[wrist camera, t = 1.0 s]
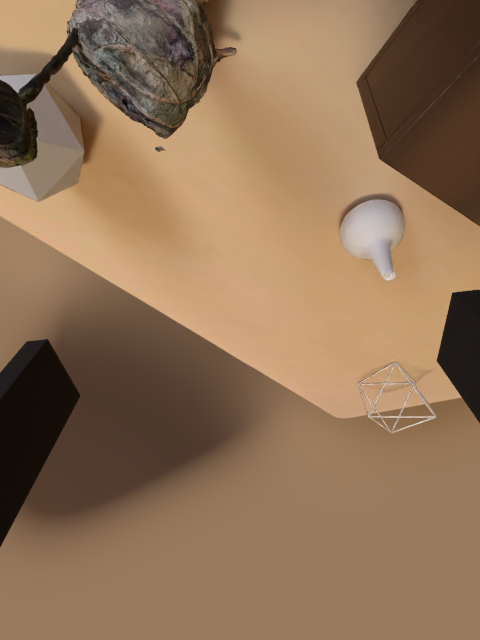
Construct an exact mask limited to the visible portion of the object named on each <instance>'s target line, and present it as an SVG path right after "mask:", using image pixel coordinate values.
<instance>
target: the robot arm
mask: <svg viewBox="0 0 480 640" xmlns="http://www.w3.org/2000/svg"><path fill="white" fill-rule="evenodd" d="M437 362H438V363H439V365H440V366H441V368H442V369H443V371H444V372H445V373H446V375H447V376H448V378H449V379H450V381H451V382H452V384H453V385H454V386H455V388H456V389H457V391H458V392H459V394H460V395H461V397H462V398H463V399H464V401H465V402H466V404H467V405H468V407H469V408H470V410H471V411H472V412H473V414H474V415H475V417H476V418H477V420H478V421H479V423H480V290H472V291H463V292H454V293H452V297H451V301H450V305H449V310H448V314H447V319H446V323H445V327H444V332H443V336H442V340H441V345H440V349H439V354H438V358H437ZM79 398H80V394H79V392H78V391H77V389H76V387H75V386H74V384H73V382H72V380H71V379H70V377H69V375H68V373H67V372H66V370H65V368H64V366H63V365H62V363H61V361H60V360H59V358H58V356H57V354H56V353H55V351H54V349H53V347H52V346H51V344H50V342H49V341H48V339H45V340H37V341H28V342H26V343H25V344H24V345H23V347H22V348H21V349H20V350H19V351H18V352H17V354H16V355H15V356H14V357H13V358H12V359H11V361H10V362H9V363H8V364H7V365H6V367H5V368H4V369H3V370H2V371H1V372H0V547H1V545H2V543H3V541H4V539H5V537H6V535H7V533H8V531H9V530H10V528H11V526H12V524H13V522H14V520H15V518H16V516H17V514H18V513H19V511H20V509H21V507H22V505H23V503H24V501H25V499H26V497H27V496H28V494H29V492H30V490H31V488H32V486H33V484H34V482H35V481H36V479H37V477H38V475H39V473H40V471H41V469H42V467H43V465H44V463H45V462H46V460H47V458H48V456H49V454H50V452H51V450H52V448H53V447H54V445H55V443H56V441H57V439H58V437H59V435H60V433H61V431H62V430H63V428H64V426H65V424H66V422H67V420H68V418H69V416H70V414H71V413H72V411H73V409H74V407H75V405H76V403H77V401H78V399H79Z"/></svg>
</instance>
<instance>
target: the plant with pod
mask: <svg viewBox="0 0 480 640" xmlns="http://www.w3.org/2000/svg"><path fill="white" fill-rule="evenodd" d="M203 2H210V1H209V0H77V3H76V10H74V12H73V13H72V18H71V19H70V21H68V27H67V28H68V30H67V34H68V38H67V40H66V42H65V44H64V45H63V46H62V47H61V49H60V50H59V51H58V53H57V55H55V56H54V57H53V58H52V59H51V61H50V62H49V63H48V64H47V65H46V66H45V67H44V68H43V69H42V71H41V73H39V74H37V75H35V76H34V77H33V78H32V79H31V80H30V81H29V82H28V83H27V84H26V85H24V86H23V87H22V88H20V89H19V92H18V93H17V92H16V91H15V90H14V89H13V88H12V87H11V85H9V84H8V83H6V82H4V81H2V80H0V167H3V168H11V167H16V166H21V165H22V166H23V165H25V164H27V163H29V162H32V161H34V160H35V159H36V158H37V152H38V150H37V140H36V138H37V137H38V130H37V121H36V119H35V115H34V111H33V110H32V109H31V108H30V107H29V108H28V109H27V104H28V103H30V102H32V101H34V100H35V99H36V97H37V96H38V95H39V93H40V92H41V91H42V89H43V87H44V85H45V84H46V83H47V82H49V81H50V77H51V75H55V74H56V73H57V72H58V71H59V70H60V69H61V67H62V66H63V64H64V63H65V62H66V61H67V60H68V57H69V55H71V53H73V55H74V57H75V59H76V61H77V63H78V65H79V67H80V68H81V69H82V71H83V74H84V75H85V76H87V77H88V78H89V79H90V80H91V82H92V84H93V85H95V86H96V87H97V88H98V90H99V91H100V93H102V94H103V95H104V97H105V98H107V99H108V100H109V101H110V102H111V103H112V104H114V105H115V106H116V107H117V108H118V109H120V110H121V111H122V112H123V113H125V114H126V115H127V116H129V117H130V118H131V119H132V120H134V121H137V122H140V123H142V124H144V126H147V127H148V128H150V129H152V130H153V131H154V132H155V133H156V135H158V136H159V137H163V138H164V139H167V138H168V137H169V136H171V135H172V134H173V133H174V132H175V131H176V130H177V129H178V128H179V127H180V126H181V125H182V124H183V122H184V121H185V118H186V116H187V113H188V110H189V108H191V107H192V106H194V105H195V104H197V103H199V101H200V99H201V98H202V97H203V96H204V94H205V92H206V91H207V85H208V83H209V81H210V78H211V74H212V71H213V67H214V66H215V64H216V62H220V60H221V59H222V58H225V57H227V56H231V55H235V54H236V53H237V49H236V48H232V47H230V48H224V49H217V48H215V45H214V41H213V34H212V29H211V26H210V23H209V20H208V18H207V15H206V13H205V10H204V6H203ZM155 149H156V151H158V152H160V151H162V150H165V149H163V148H162V147H161V146H159V147H156V148H155Z"/></svg>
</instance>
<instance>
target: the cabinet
mask: <svg viewBox="0 0 480 640" xmlns="http://www.w3.org/2000/svg"><path fill="white" fill-rule="evenodd" d="M356 83H357V86H358V89H359V92H360V95H361V99H362V102H363V105H364V109H365V112H366V116H367V119H368V122H369V126H370V129H371V132H372V136H373V139H374V142H375V146H376V149H377V153H378V156H379V159H380V160H382V161H383V162H385V163H386V164H388V165H389V166H391V167H392V168H394V169H395V170H397V171H398V172H400V173H401V174H403V175H404V176H406V177H407V178H409V179H410V180H412V181H413V182H415V183H416V184H418V185H419V186H421V187H422V188H424V189H425V190H427V191H428V192H430V193H431V194H433V195H434V196H436V197H437V198H439V199H440V200H441V201H443V202H444V203H446V204H447V205H449V206H450V207H452V208H453V209H455V210H456V211H458V212H459V213H461V214H462V215H464V216H465V217H467V218H468V219H470V220H471V221H473V222H474V223H476V224H477V225H479V226H480V0H418V1H417V2H416V3H415V5H414V6H413V7H412V9H411V10H410V11H409V13H408V14H407V15H406V17H405V18H404V19H403V21H402V22H401V23H400V25H399V26H398V27H397V29H396V30H395V31H394V33H393V34H392V35H391V37H390V38H389V39H388V41H387V42H386V43H385V45H384V46H383V47H382V49H381V50H380V51H379V53H378V54H377V55H376V57H375V58H374V59H373V61H372V62H371V63H370V65H369V66H368V68H367V69H366V70H365V72H364V73H363V74H362V76H361V77H360V78H359V80H358V81H357V82H356Z"/></svg>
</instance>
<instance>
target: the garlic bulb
mask: <svg viewBox="0 0 480 640" xmlns="http://www.w3.org/2000/svg"><path fill="white" fill-rule="evenodd" d="M404 231H405V219H404V216H403V213H402V211H401V210H400V209H399V208H398V207H397V206H396V205H395V204H394V203H392V202H389V201H386V200H380V199H377V200H370V201H366V202H363V203H361V204H359V205H358V206H356V207H355V208H353V209H352V210H351V211H350V212H349V213H348V214H347V215H346V216H345V218H344V219H343V221H342V224H341V227H340V232H339V233H340V240H341V244H342V246H343V247H344V249H345V250H346V251H347V252H348V253H349V254H350V255H351V256H353V257H355V258H359V259H365V260H369V259H371V260H372V262H373V263H374V265H375V267H376V268H377V270H378V271H379V273H380V274H381V277H382V278H384V279H385V280H386V281H390V280H393V279H394V278H395V275H396V274H395V273H394V271H393V265H392V260H391V252H390V251H392V250H393V249H394V248H395V247H396V246H397V245H398V244H399V242H400V241H401V239H402V237H403V234H404Z"/></svg>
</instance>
